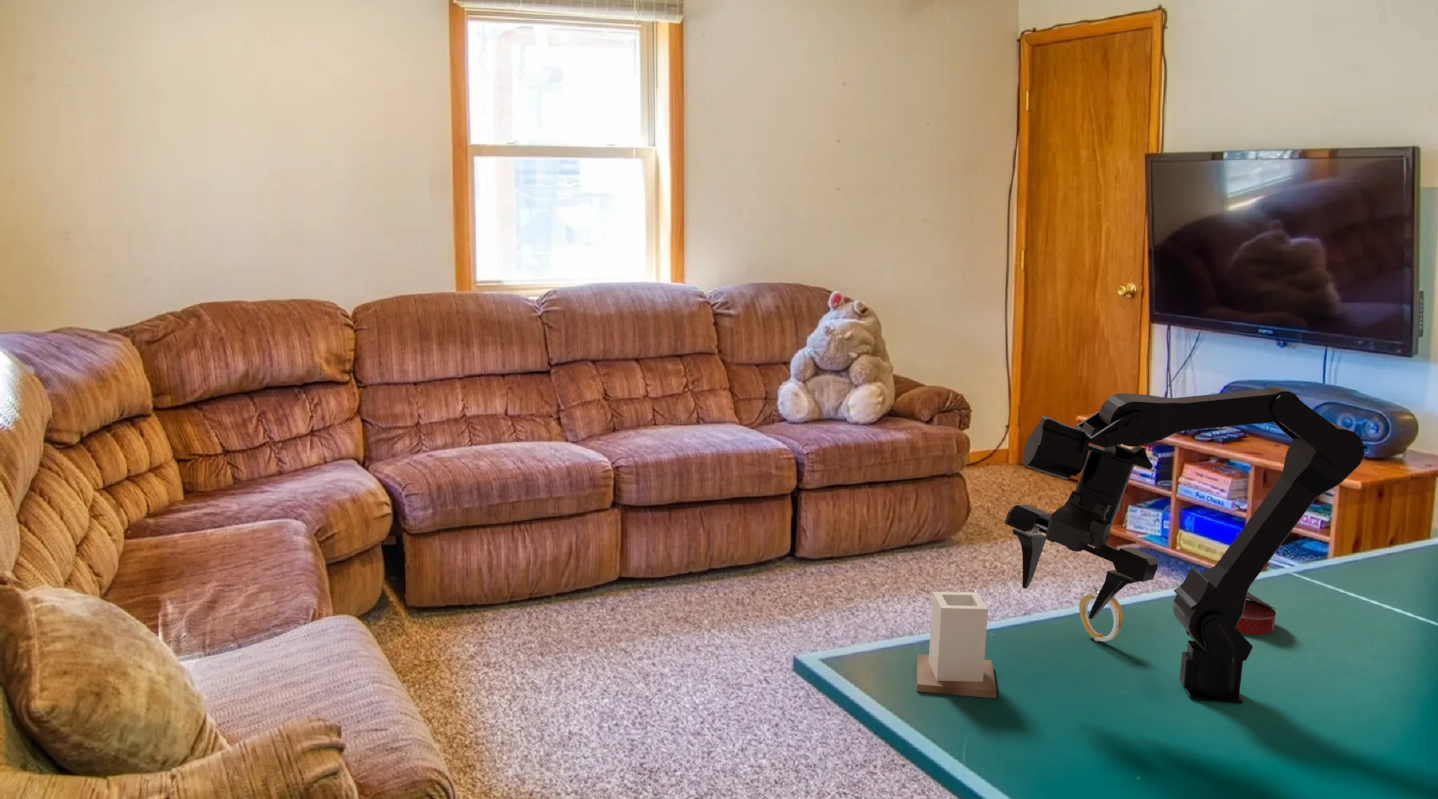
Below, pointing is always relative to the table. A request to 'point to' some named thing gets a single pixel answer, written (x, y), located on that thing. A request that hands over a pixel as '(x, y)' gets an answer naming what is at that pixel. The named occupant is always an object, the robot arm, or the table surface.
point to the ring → (1114, 608)
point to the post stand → (966, 688)
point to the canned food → (1256, 617)
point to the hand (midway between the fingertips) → (1057, 603)
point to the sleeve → (958, 636)
